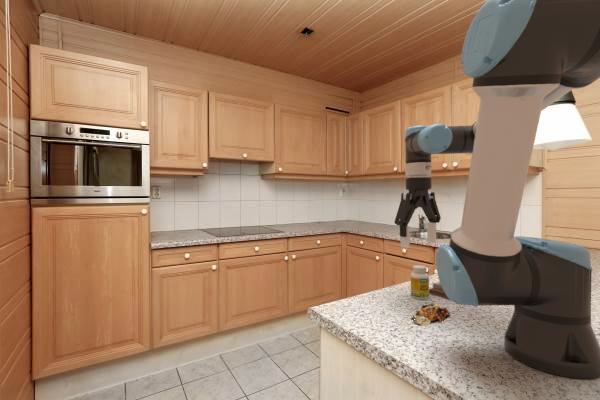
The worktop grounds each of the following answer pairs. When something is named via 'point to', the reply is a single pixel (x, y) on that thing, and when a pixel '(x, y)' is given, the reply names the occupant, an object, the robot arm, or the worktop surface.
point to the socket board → (438, 290)
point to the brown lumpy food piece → (430, 314)
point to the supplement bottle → (419, 283)
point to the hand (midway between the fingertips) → (418, 245)
